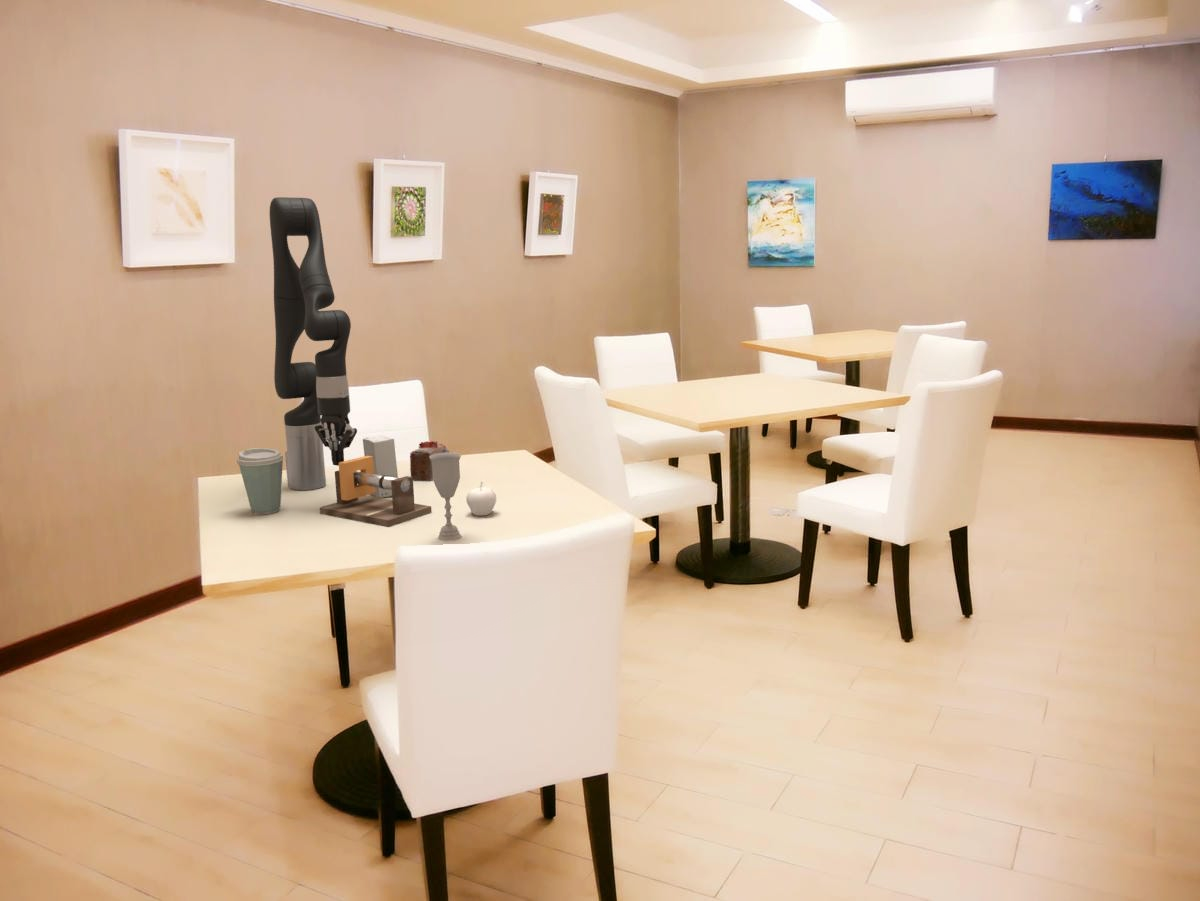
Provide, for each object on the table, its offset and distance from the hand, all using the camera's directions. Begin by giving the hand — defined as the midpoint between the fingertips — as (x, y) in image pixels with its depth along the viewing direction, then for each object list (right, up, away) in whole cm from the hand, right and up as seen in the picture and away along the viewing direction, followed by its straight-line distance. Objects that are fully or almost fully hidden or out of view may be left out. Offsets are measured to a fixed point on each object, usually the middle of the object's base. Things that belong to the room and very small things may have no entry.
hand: (338, 464), depth 235 cm
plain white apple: (+36, -12, -7) cm, 38 cm away
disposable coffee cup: (-17, -12, -1) cm, 21 cm away
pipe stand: (+10, -11, -4) cm, 16 cm away
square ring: (+5, -8, -2) cm, 9 cm away
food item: (+17, -4, +34) cm, 38 cm away
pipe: (+10, -5, -6) cm, 13 cm away
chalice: (+31, -16, -25) cm, 43 cm away
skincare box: (+8, -8, +14) cm, 18 cm away
